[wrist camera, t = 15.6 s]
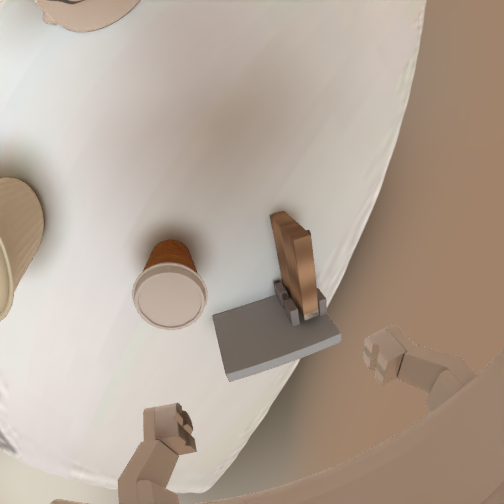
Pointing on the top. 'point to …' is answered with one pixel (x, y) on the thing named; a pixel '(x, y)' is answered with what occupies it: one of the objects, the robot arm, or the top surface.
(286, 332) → the cabinet side
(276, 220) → the walnut door
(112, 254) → the top surface
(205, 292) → the disposable coffee cup
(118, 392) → the top surface
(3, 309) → the canister
